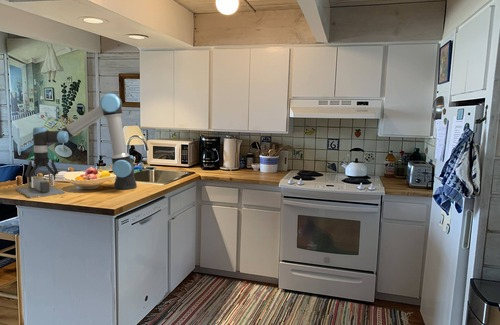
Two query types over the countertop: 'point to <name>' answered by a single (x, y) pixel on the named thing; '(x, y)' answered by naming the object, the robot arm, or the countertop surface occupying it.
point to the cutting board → (35, 193)
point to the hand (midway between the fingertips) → (42, 186)
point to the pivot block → (30, 182)
